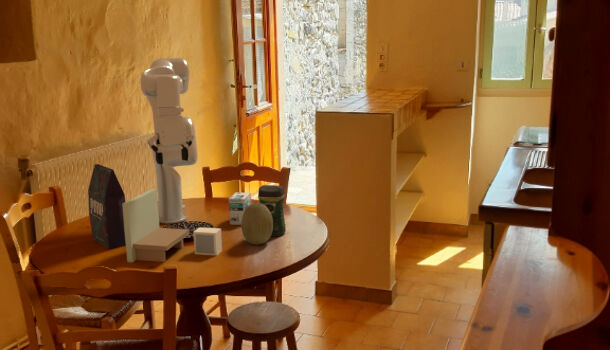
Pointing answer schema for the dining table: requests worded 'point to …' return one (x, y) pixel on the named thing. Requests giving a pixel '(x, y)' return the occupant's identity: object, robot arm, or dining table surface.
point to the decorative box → (106, 207)
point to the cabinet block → (207, 241)
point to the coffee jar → (274, 206)
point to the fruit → (257, 223)
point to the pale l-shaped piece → (148, 230)
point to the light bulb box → (238, 206)
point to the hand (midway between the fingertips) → (172, 162)
